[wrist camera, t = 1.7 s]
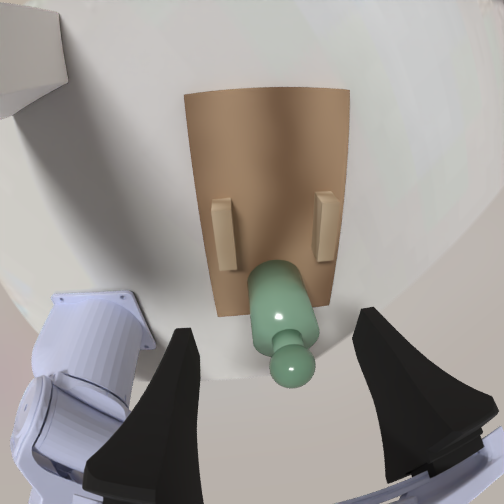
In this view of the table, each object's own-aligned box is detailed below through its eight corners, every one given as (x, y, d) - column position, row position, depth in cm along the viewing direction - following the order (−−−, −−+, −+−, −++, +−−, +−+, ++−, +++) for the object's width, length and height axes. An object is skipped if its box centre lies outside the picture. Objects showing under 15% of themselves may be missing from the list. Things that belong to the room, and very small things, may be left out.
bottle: (248, 304, 24) (259, 404, 16) (245, 262, 21) (256, 371, 14) (299, 298, 24) (326, 395, 16) (302, 256, 22) (339, 359, 14)
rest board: (217, 312, 25) (217, 332, 23) (185, 94, 15) (178, 96, 13) (327, 300, 25) (334, 319, 23) (345, 89, 15) (361, 92, 13)
